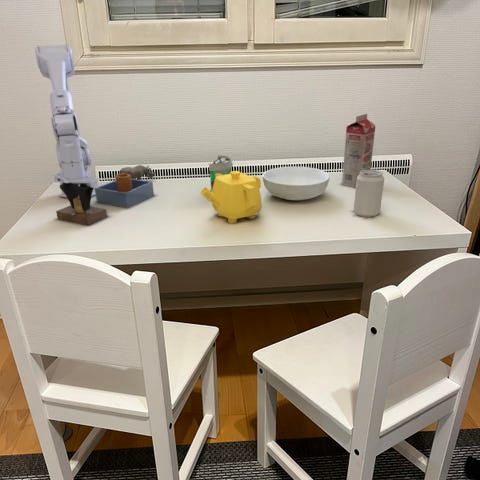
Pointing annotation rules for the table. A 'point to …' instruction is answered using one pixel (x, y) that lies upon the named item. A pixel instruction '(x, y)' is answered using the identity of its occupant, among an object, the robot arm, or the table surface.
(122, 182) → the jar
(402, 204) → the table surface
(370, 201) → the can
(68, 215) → the panel
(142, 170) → the rhino figurine
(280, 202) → the table surface
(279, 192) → the serving bowl
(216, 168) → the grey green irregular piece
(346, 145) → the juice carton
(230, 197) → the teapot
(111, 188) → the blue open tray
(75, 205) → the tap knob
